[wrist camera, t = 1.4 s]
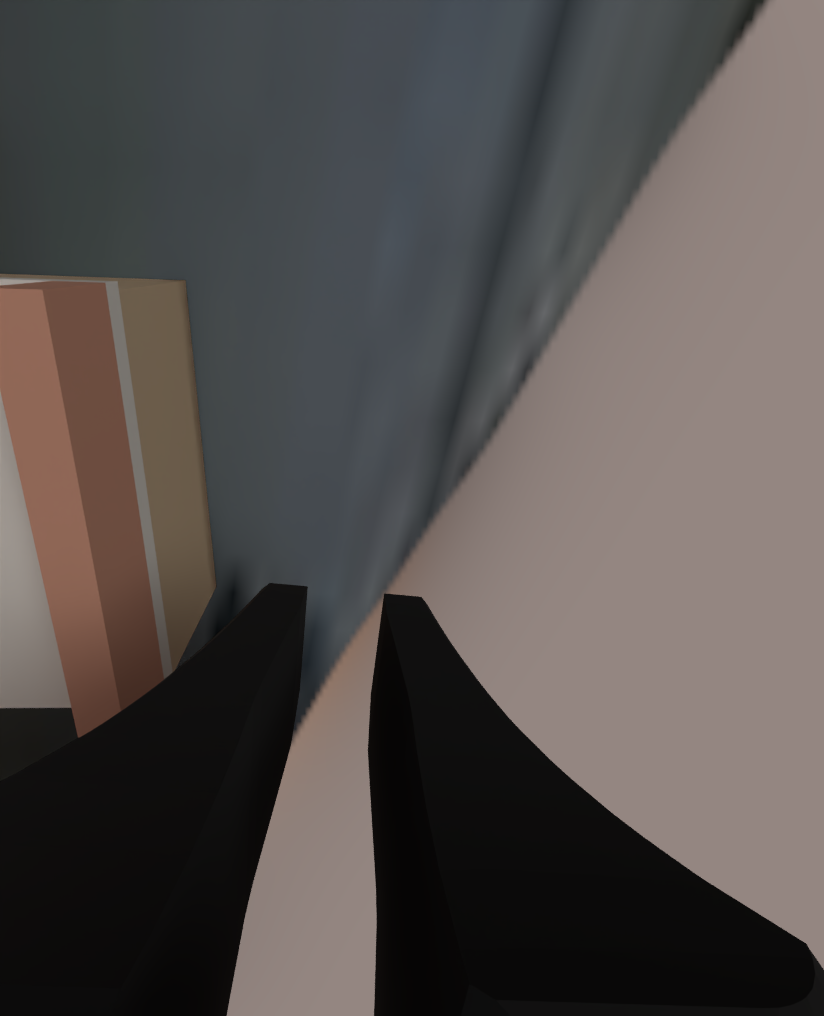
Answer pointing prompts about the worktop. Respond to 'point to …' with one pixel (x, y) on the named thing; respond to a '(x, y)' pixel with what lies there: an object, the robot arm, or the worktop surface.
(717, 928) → the robot arm
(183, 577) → the box
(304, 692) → the worktop surface
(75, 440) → the mailer lid
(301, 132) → the worktop surface
